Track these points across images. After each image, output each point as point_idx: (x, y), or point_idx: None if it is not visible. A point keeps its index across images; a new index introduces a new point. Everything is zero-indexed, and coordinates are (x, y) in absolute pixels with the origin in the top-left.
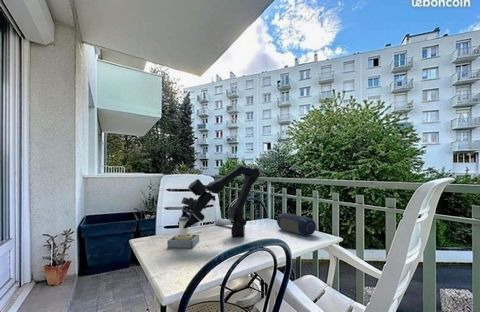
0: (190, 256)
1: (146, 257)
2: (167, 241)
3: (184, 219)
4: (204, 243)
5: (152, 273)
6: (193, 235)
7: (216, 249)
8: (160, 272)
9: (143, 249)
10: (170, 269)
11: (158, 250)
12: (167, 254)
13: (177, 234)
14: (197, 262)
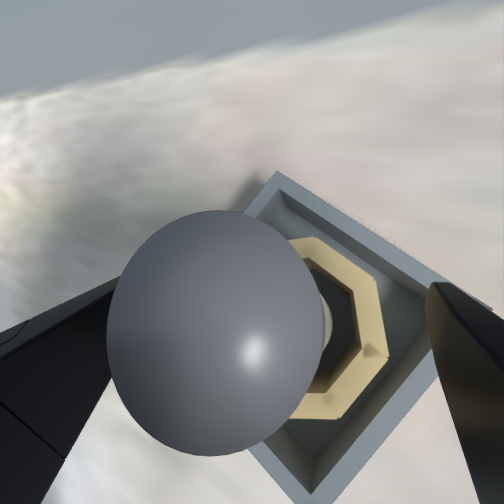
0: (83, 263)
1: (200, 79)
2: (279, 174)
3: (124, 306)
4: (233, 475)
5: (43, 97)
6: (336, 457)
7: (75, 447)
8: (33, 120)
9: (353, 62)
10: (30, 152)
11: (275, 140)
12: (177, 172)
13: (367, 280)
14: (13, 259)
